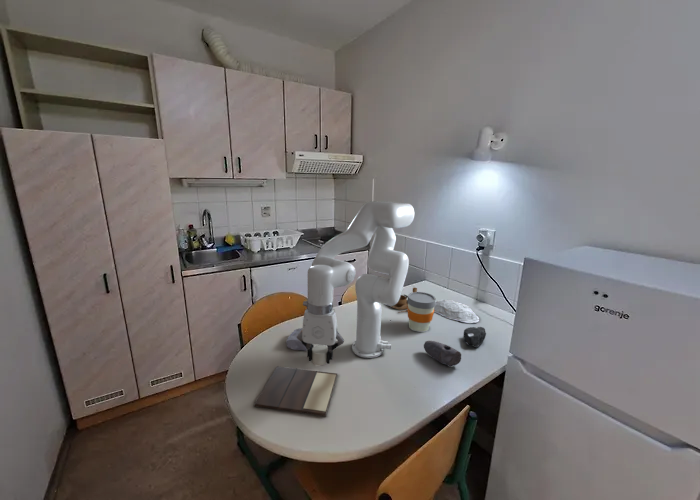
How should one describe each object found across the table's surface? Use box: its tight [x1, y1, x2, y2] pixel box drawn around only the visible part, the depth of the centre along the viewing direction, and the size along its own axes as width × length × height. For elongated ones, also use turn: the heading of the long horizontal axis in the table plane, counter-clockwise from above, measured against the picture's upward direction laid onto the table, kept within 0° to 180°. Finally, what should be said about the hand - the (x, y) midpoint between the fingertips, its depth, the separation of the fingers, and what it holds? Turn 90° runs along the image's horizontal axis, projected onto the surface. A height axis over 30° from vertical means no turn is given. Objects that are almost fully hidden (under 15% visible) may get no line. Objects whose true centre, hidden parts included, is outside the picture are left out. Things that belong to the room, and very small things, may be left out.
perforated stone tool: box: [423, 340, 462, 368], centre depth 113 cm, size 15×5×7 cm, turn 40°
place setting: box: [390, 287, 418, 314], centre depth 160 cm, size 18×20×6 cm
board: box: [254, 365, 338, 417], centre depth 97 cm, size 22×18×1 cm
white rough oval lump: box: [434, 299, 480, 324], centre depth 152 cm, size 16×25×7 cm, turn 45°
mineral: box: [463, 326, 487, 348], centre depth 126 cm, size 10×9×6 cm
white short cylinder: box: [311, 344, 328, 366], centre depth 92 cm, size 5×5×4 cm
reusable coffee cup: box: [406, 291, 436, 333], centre depth 136 cm, size 13×13×15 cm
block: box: [285, 327, 307, 351], centre depth 123 cm, size 12×5×10 cm
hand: (320, 359), depth 93 cm, fingers closed on white short cylinder, 5 cm apart
